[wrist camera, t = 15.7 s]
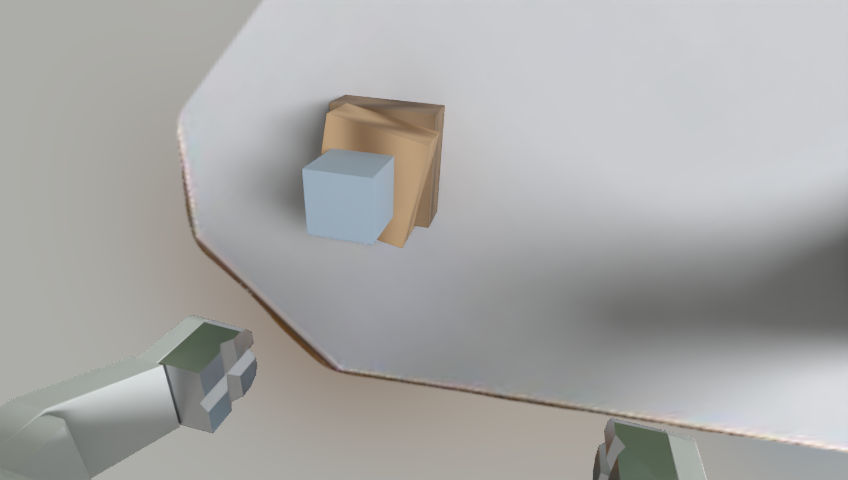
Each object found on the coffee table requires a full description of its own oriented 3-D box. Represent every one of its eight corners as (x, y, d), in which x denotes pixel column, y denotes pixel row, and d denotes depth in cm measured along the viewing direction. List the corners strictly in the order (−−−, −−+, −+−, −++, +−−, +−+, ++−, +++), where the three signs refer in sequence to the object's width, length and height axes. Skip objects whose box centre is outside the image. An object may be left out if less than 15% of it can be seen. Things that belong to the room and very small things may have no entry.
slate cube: (394, 155, 35) (372, 178, 31) (393, 216, 37) (372, 245, 33) (331, 148, 36) (301, 169, 32) (334, 207, 38) (307, 234, 34)
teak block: (439, 132, 37) (428, 145, 34) (414, 227, 42) (402, 248, 38) (346, 103, 38) (326, 113, 35) (331, 199, 43) (312, 217, 39)
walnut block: (445, 104, 40) (435, 114, 37) (437, 210, 45) (428, 227, 42) (347, 94, 42) (329, 102, 38) (349, 197, 47) (333, 213, 43)
